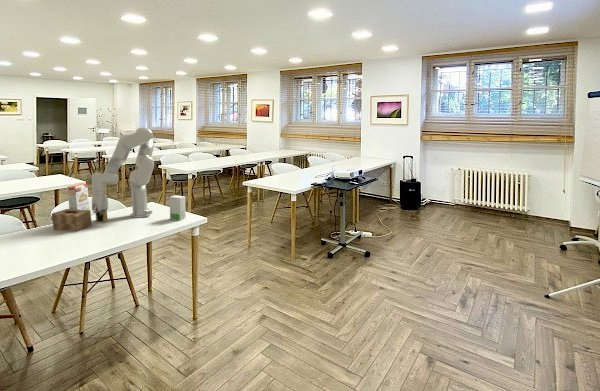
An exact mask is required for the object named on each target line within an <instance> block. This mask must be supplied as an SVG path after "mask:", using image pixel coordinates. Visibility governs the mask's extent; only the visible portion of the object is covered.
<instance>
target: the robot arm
mask: <svg viewBox="0 0 600 391" xmlns="http://www.w3.org/2000/svg"><path fill="white" fill-rule="evenodd" d="M153 137H154V133H153V130H151V129H150V128H148V127H147V128H146V127H139V128H137V129H136V130H135V132H133V133H132V134H131V133H129V134H122V135H121V136H120V137H119V139H118V141H117V144H116V146H115V149H114V151H113V153H112V156H111V157H110V159H109V161H108V162H107V165H106V166H105V169H104V171H103V173H102V172H101V173H100V172H99V173H98V172H97V173H92V174H91V176H90V178H91V185H92V188H91V189H92V196H91V210H92V211H93V214H95V216H96V215H97V220H98V221H97V222H103V220H102V215H101V211H106V212H107V211H108V209H109V198H108V195H107V187H106V185H116V184H117V183H118V182H119V180H120V177H119V175H118V174H117V173H118V171H119V169H120V167H121V166H122V165H123V164H124V163H125V162H126V161H127V159H128V157H129V154H130V152H131V150H132V149H134V148H136V147H139V149H138V153H137V156H136V158H135V165H136V167H137V169H134V170H132V171H131V172H130V174H129V184H130V190H131V194H130V195H131V208H132V209H131V210H132V212H131V213H130V217H131V218H147V217H149V216H151V215H152V214H153V210H150V208H148V198H147V197H148V195H147V184H149V182H150V181H151V177H152V175H153V174H152V173H153V170H154V167H155V161H154V159H153V157H152V155H153V152H154V148H155V147H154V141H153ZM98 211H99V212H98Z"/></svg>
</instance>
